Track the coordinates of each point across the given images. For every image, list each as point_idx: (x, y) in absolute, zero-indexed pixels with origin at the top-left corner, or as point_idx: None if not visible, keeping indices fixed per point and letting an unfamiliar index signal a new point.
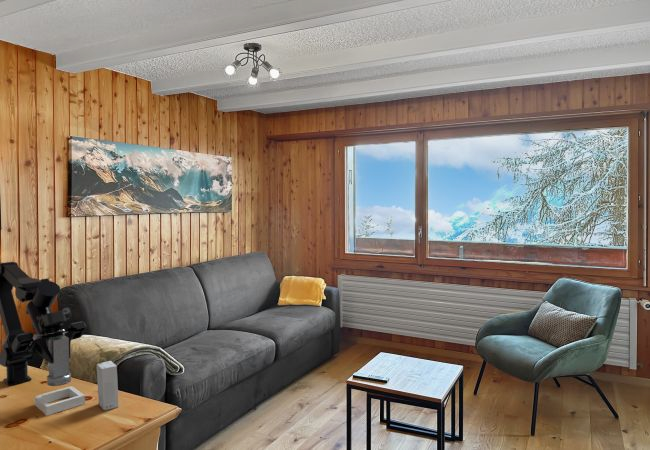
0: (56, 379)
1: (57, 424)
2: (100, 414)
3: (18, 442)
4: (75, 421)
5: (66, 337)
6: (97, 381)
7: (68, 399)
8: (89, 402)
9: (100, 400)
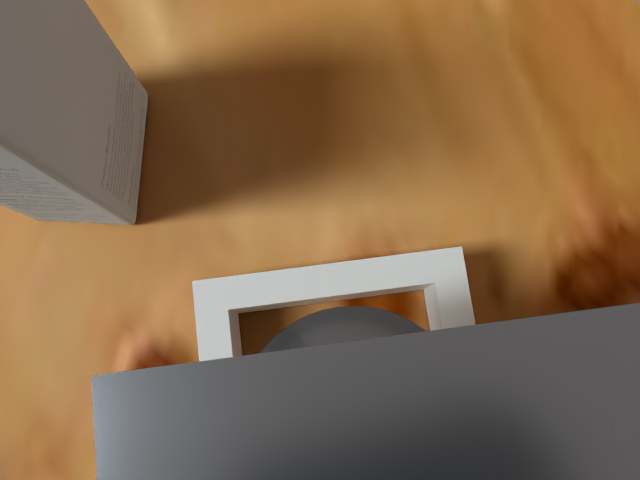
0: (399, 318)
1: (413, 90)
2: (179, 63)
3: (616, 6)
4: (321, 64)
5: (149, 474)
6: (72, 175)
7: (307, 281)
8: (175, 293)
9: (130, 140)
